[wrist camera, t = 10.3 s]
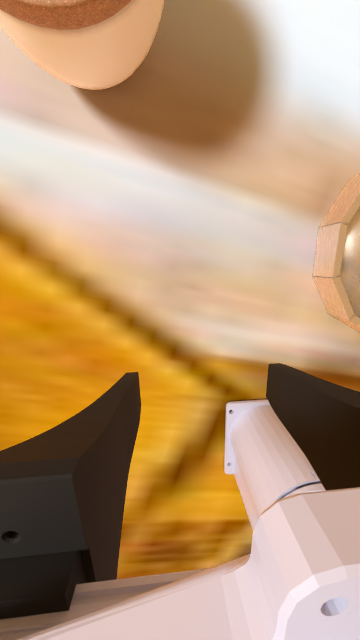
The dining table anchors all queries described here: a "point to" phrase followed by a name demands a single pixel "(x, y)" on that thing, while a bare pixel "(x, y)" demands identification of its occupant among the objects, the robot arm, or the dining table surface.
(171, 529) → the dining table surface
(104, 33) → the lidded jar
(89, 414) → the robot arm
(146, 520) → the dining table surface
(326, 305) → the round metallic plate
